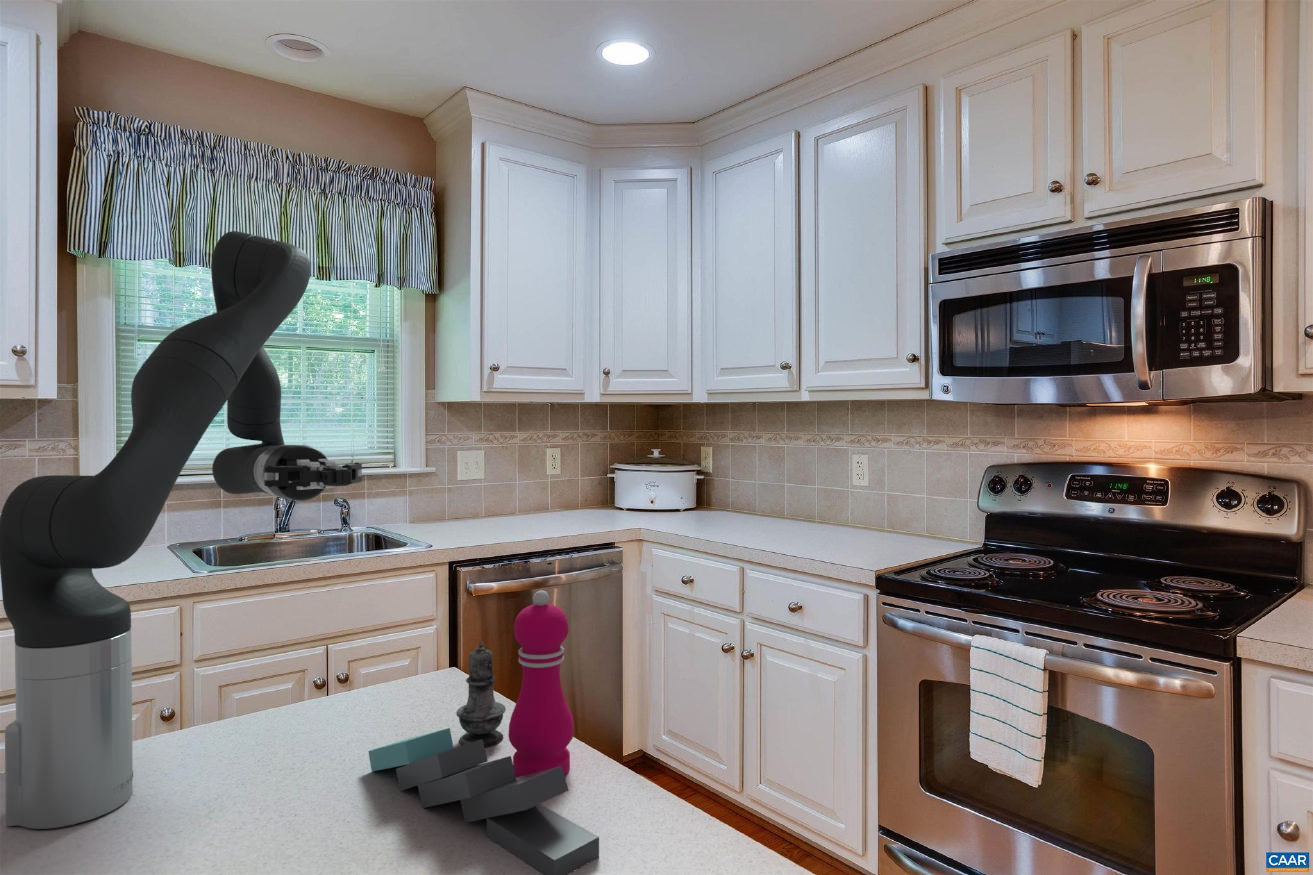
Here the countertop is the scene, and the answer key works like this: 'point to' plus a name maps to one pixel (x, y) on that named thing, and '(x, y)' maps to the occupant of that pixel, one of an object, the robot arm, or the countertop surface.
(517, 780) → the domino
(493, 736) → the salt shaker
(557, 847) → the domino
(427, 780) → the domino
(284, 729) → the countertop surface
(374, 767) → the domino
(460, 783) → the domino
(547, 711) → the pepper mill
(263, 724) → the countertop surface
